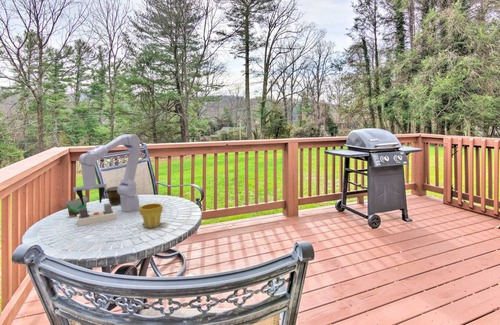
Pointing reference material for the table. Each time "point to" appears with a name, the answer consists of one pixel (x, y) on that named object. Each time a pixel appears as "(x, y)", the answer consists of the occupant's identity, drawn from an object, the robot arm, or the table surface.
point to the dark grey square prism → (83, 212)
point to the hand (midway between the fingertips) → (91, 203)
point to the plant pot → (151, 214)
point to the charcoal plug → (107, 208)
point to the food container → (76, 206)
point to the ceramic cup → (113, 196)
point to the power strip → (96, 217)
